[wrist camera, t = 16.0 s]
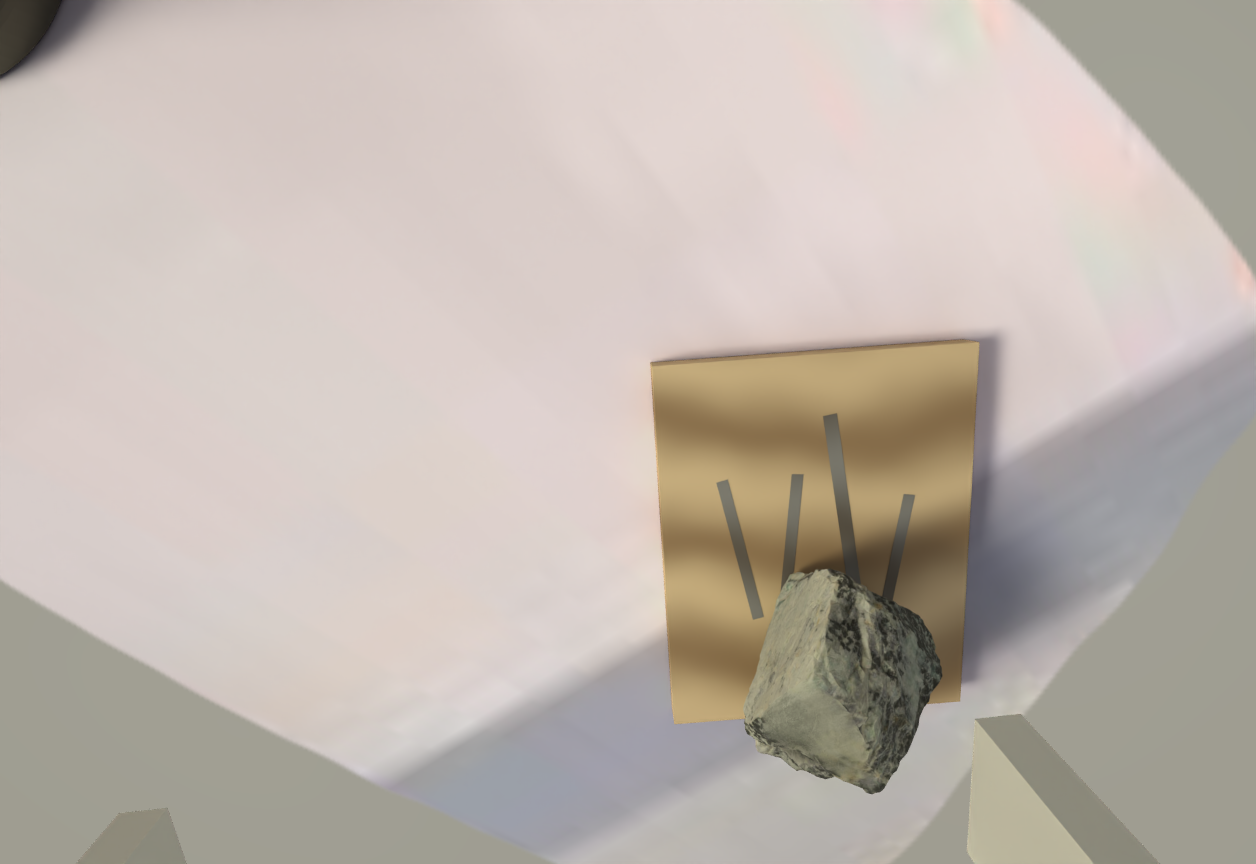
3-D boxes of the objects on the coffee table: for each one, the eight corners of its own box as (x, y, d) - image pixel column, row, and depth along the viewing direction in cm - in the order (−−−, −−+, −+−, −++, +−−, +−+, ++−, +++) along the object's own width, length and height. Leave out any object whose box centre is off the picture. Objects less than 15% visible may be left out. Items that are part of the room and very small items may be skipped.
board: (650, 362, 33) (652, 366, 31) (963, 339, 33) (979, 342, 32) (671, 706, 38) (674, 724, 36) (946, 684, 38) (960, 701, 36)
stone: (950, 851, 26) (856, 658, 24) (744, 800, 33) (655, 647, 31) (989, 674, 33) (918, 509, 30) (811, 663, 39) (741, 528, 37)
